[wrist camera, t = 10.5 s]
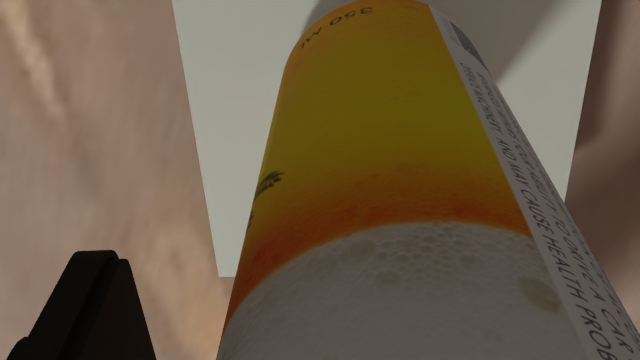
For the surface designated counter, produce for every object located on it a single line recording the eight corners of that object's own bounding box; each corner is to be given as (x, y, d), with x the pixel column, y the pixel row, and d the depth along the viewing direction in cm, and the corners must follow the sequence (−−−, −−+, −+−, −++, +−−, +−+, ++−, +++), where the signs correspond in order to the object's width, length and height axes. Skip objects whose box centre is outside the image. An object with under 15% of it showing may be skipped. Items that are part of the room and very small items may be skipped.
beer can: (243, 93, 19) (42, 651, 6) (379, -57, 17) (498, 350, 4) (380, 204, 21) (438, 803, 8) (520, 82, 19) (907, 662, 6)
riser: (178, -163, 19) (144, -159, 16) (580, -186, 19) (636, -186, 15) (233, 217, 27) (219, 277, 23) (523, 208, 26) (552, 267, 23)
